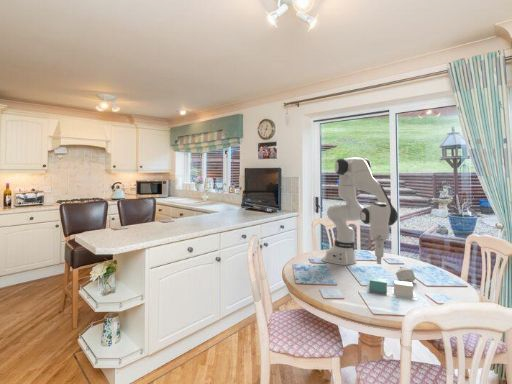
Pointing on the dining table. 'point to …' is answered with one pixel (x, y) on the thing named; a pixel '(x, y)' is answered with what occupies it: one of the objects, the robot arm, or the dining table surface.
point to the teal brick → (378, 284)
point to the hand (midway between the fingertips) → (378, 260)
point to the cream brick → (403, 288)
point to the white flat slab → (392, 293)
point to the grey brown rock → (405, 275)
